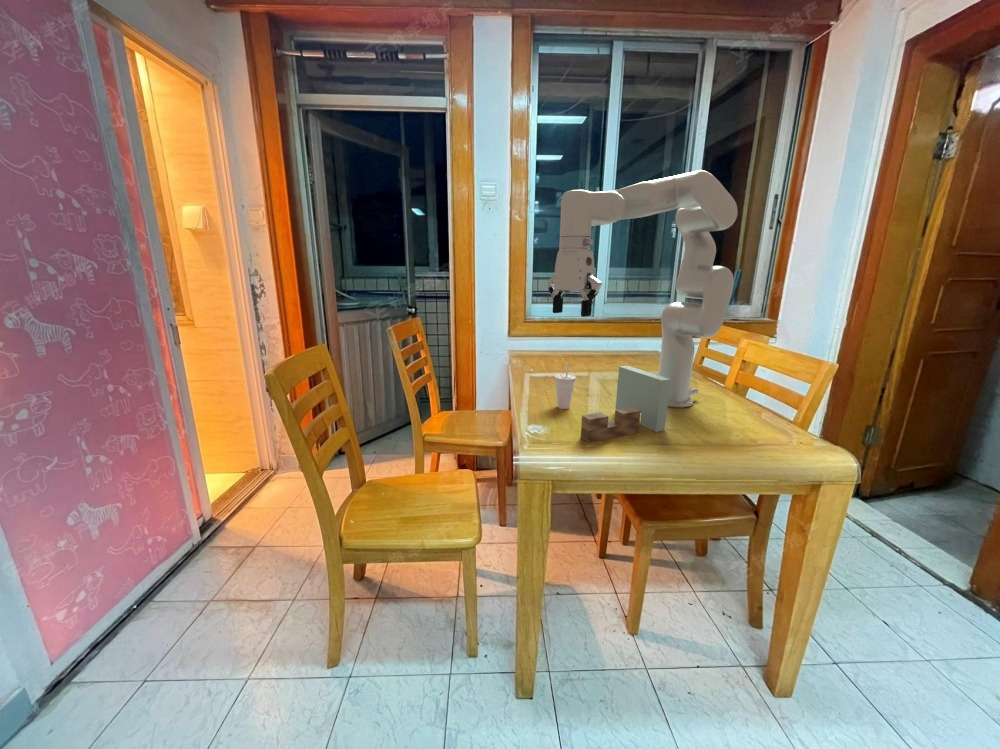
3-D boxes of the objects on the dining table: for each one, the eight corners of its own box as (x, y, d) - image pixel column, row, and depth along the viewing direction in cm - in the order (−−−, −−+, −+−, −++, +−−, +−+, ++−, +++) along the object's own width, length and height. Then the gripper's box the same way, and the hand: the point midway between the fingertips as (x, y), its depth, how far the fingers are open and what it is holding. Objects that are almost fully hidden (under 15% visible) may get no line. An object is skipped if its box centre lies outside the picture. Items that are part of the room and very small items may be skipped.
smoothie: (563, 411, 119) (566, 366, 115) (548, 406, 124) (550, 361, 120) (578, 407, 123) (581, 363, 119) (563, 402, 128) (565, 359, 124)
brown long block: (630, 428, 107) (632, 407, 106) (638, 432, 105) (640, 410, 103) (580, 437, 101) (582, 415, 99) (587, 442, 98) (589, 419, 97)
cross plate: (615, 412, 119) (619, 366, 116) (623, 411, 120) (627, 365, 117) (655, 431, 105) (661, 380, 102) (664, 430, 106) (670, 379, 103)
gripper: (613, 244, 95) (607, 316, 100) (559, 246, 108) (557, 310, 113) (592, 243, 91) (588, 319, 95) (539, 245, 104) (537, 312, 108)
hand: (571, 314), depth 104 cm, fingers open, 9 cm apart
